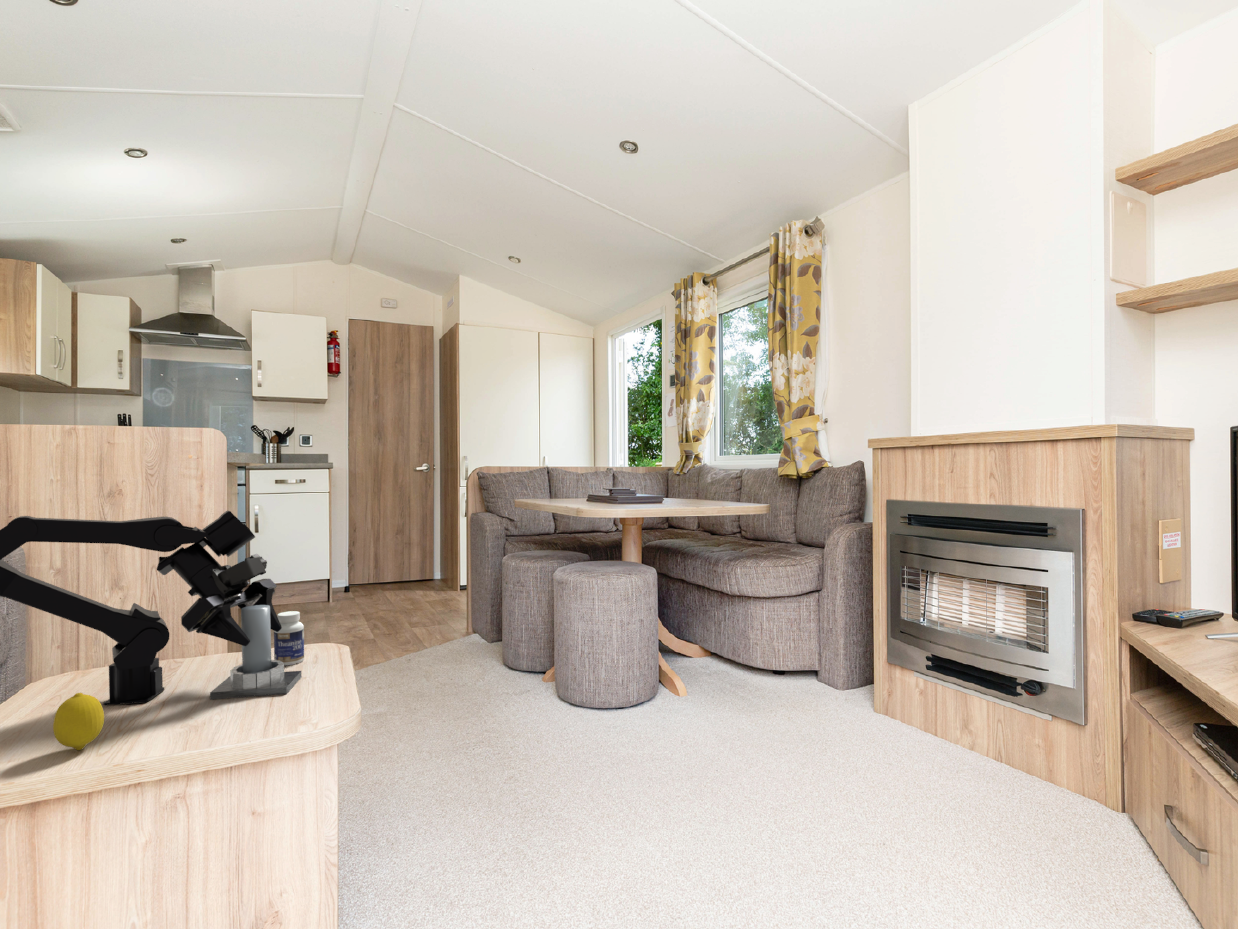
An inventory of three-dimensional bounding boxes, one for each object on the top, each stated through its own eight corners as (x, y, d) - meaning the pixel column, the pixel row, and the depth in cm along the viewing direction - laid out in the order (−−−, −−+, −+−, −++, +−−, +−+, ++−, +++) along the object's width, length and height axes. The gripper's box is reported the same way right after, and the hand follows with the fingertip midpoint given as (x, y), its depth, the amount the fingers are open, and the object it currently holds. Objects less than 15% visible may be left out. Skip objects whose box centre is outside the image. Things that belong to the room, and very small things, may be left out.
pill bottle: (275, 668, 129) (274, 617, 129) (273, 661, 134) (272, 612, 134) (305, 663, 132) (305, 614, 132) (303, 656, 137) (302, 609, 136)
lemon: (77, 760, 90) (75, 701, 90) (43, 757, 91) (41, 699, 91) (114, 742, 96) (113, 687, 96) (82, 740, 97) (81, 685, 97)
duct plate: (210, 699, 112) (209, 677, 112) (230, 682, 121) (230, 661, 121) (286, 694, 115) (286, 672, 115) (301, 677, 124) (301, 657, 123)
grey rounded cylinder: (238, 686, 115) (236, 611, 115) (248, 677, 120) (246, 605, 120) (266, 684, 116) (265, 610, 116) (275, 676, 121) (273, 604, 120)
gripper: (197, 549, 109) (263, 617, 108) (266, 535, 127) (322, 594, 127) (152, 597, 109) (217, 665, 109) (227, 577, 128) (283, 635, 127)
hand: (264, 636), depth 118 cm, fingers open, 9 cm apart
